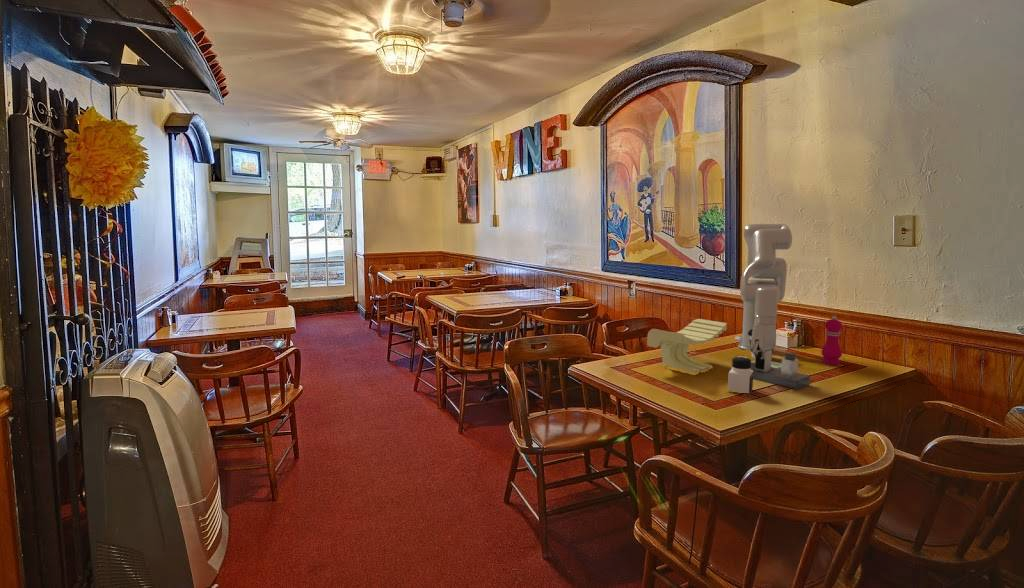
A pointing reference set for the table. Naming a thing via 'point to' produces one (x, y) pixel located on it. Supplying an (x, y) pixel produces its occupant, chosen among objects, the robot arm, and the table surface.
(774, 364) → the tray
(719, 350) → the table surface
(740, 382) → the medicine bottle
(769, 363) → the plug
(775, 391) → the table surface
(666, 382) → the table surface
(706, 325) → the slatted curved stool
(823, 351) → the pepper mill
